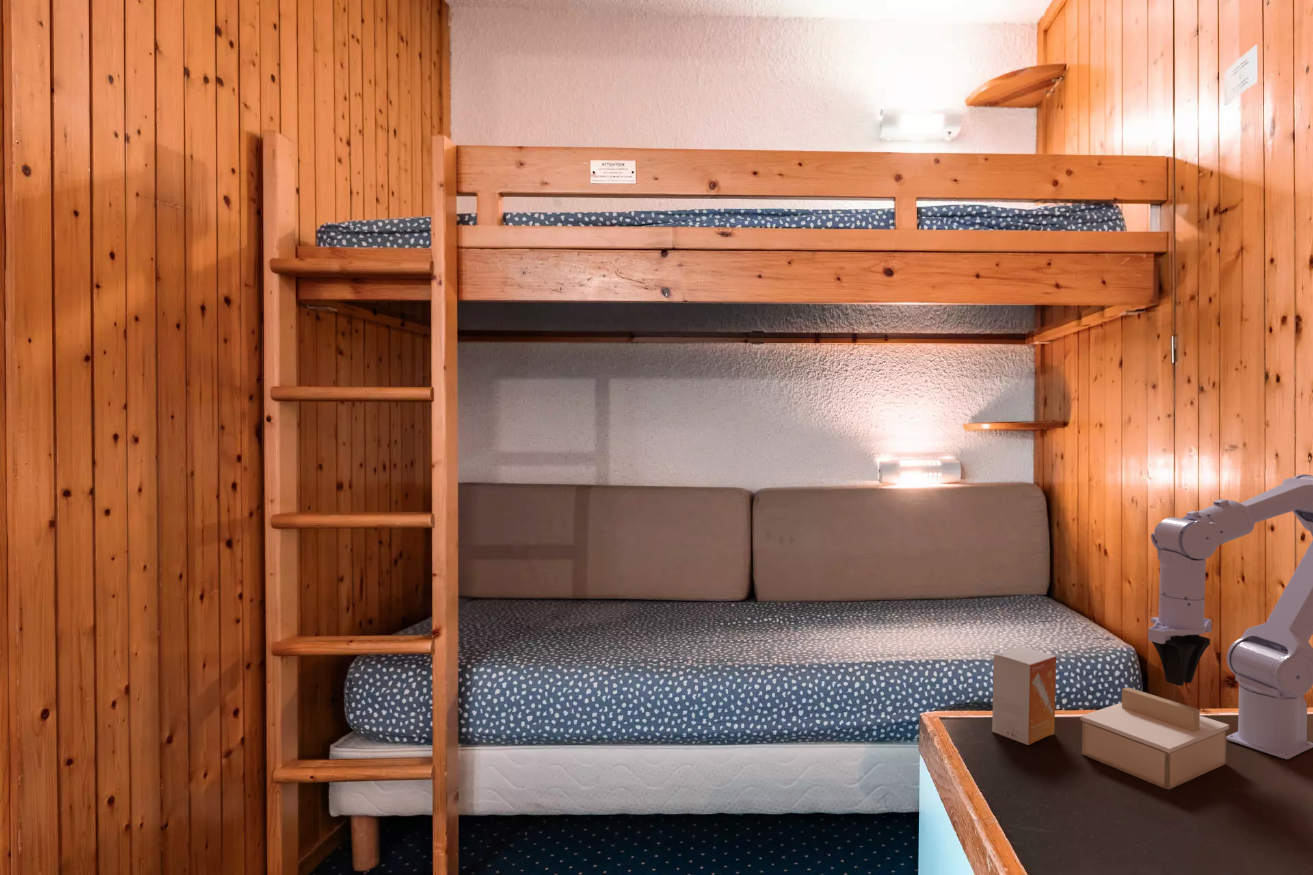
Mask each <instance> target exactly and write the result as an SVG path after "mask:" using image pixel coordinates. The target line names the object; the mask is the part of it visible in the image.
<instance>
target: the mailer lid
mask: <svg viewBox="0 0 1313 875" xmlns="http://www.w3.org/2000/svg"><path fill="white" fill-rule="evenodd" d="M1200 711H1201V709H1198V708H1196V707H1192V706H1189V705H1187V704H1184V703H1183V704H1182V703H1179V702H1176V701H1173V700H1170V699H1167V698H1164V697H1161V696H1157V695H1153V694H1150V693H1148V692H1146V691H1141V690H1138V689H1135V688H1131V687H1130V686H1129V687H1124V688H1122V689H1121V702H1119V703H1116V704H1113V705H1110V706H1107V707H1106V706H1105V707H1104V708H1101V709H1098V710H1095V711H1092V712H1089V713H1085V714H1082V715H1080V716H1079V717H1080V721H1082V722H1084V721H1085V722H1087V723H1090V724H1093V725H1095V726H1098V727H1101V728H1104V729H1106V730H1109V731H1112V732H1114V733H1117V734H1120V735H1122V736H1125V737H1128V738H1130V739H1133V740H1136V741H1138V742H1141V743H1144V744H1147V745H1149V746H1152V747H1155V748H1157V749H1160V750H1163V751H1165V752H1168V753H1171V752H1174V751H1176V750H1179V749H1181V748H1183V747H1186V746H1188V745H1191V744H1193V743H1196V742H1198V741H1201V740H1203V739H1205V738H1208V737H1210V736H1213V735H1215V734H1218V733H1220V732H1223V731H1225V730H1226V731H1227V730H1229V729H1230V724H1227V723H1225V722H1221V721H1218V720H1215V719H1212V718H1209V717H1205V716H1202V715H1200V714H1201V712H1200Z"/></svg>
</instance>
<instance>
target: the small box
mask: <svg viewBox="0 0 1313 875" xmlns="http://www.w3.org/2000/svg"><path fill="white" fill-rule="evenodd" d="M992 668H993V670H992V671H993V672H992V673H993V675H992V679H993V680H992V682H993V683H992V718H991V719H992V720H991V721H992V723H991V724H992V726H991V731H992V732H993V733H995V734H997V735H1000V736H1002V737H1005V738H1008V739H1011V740H1014V741H1016V742H1019V743H1022V744H1023V745H1027V746H1030V745H1032V744H1034V743H1035V742H1038V741H1040V740H1042V739H1044V738H1046V737H1049V736H1052V735H1054V734H1055V728H1056V727H1055V726H1056V725H1055V722H1056V721H1055V720H1056V719H1055V717H1056V688H1057V686H1056V682H1057V681H1056V680H1057V676H1056V675H1057V655H1053V654H1051V653H1046V652H1043V651H1040V650H1037V649H1034V648H1033V649H1032V648H1029V647H1025V646H1023V645H1020V646H1016V647H1013V648H1008V649H1006V650H1005V649H1004V650H1003V651H1001V652H1000V651H999V652H998V653H994V654H993V666H992Z"/></svg>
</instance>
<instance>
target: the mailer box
mask: <svg viewBox="0 0 1313 875" xmlns="http://www.w3.org/2000/svg"><path fill="white" fill-rule="evenodd" d="M1081 729H1082V730H1081V731H1082V732H1081V734H1082V736H1081V755H1082V756H1085V757H1088V758H1090V759H1092V760H1095V761H1096V762H1097V761H1098V762H1100V763H1102V764H1104V765H1107V766H1109V767H1112V768H1114V769H1116V770H1119V771H1121V772H1124V773H1125V774H1128V775H1131V776H1133V777H1137V779H1138V778H1139V779H1140V780H1143V781H1146V782H1148V783H1150V784H1153V785H1155V786H1158V787H1160V788H1163V789H1166V790H1168V791H1169V790H1172V789H1173V788H1175V787H1177V786H1180V785H1182V784H1184V783H1186V782H1188V781H1191V780H1194V779H1195V778H1198V777H1200V776H1201V775H1204V774H1206V773H1208V772H1210V771H1213V770H1215V769H1217V768H1220V767H1222V766H1224V765H1226V764H1227V741H1228V740H1227V736H1228V734H1227V732H1228V731H1227V730H1225V731H1223V732H1220V733H1218V734H1215V735H1213V736H1210V737H1208V738H1205V739H1203V740H1201V741H1198V742H1196V743H1193V744H1191V745H1188V746H1186V747H1183V748H1181V749H1179V750H1176V751H1174V752H1171V753H1168V752H1165V751H1163V750H1160V749H1157V748H1155V747H1152V746H1149V745H1147V744H1144V743H1141V742H1138V741H1136V740H1133V739H1130V738H1128V737H1125V736H1122V735H1120V734H1117V733H1114V732H1112V731H1109V730H1106V729H1104V728H1101V727H1098V726H1095V725H1093V724H1090V723H1087V722H1085V721H1082V726H1081Z"/></svg>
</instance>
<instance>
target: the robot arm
mask: <svg viewBox="0 0 1313 875" xmlns="http://www.w3.org/2000/svg"><path fill="white" fill-rule="evenodd" d="M1291 512H1293V514H1294V515H1295V517H1296V518H1297V519H1298V521H1299V522H1300V523H1301V525H1302V526H1303V527H1304V529H1305V530H1307V531H1308V532H1310V534H1311V536H1312V537H1313V475H1312V474H1306V473H1305V474H1304V473H1302V474H1298V475H1294V477H1289V478H1284V479H1283V481H1282V483H1281V484H1279V485H1277V486H1275V487H1273V488H1270V489H1269V490H1266V491H1264V492H1261V493H1260V494H1258V495H1255V496H1253V497H1251V498H1249V499H1247V500H1245V501H1242V502H1238V501H1236V500H1232V499H1223V498H1219V499H1216V500H1214V501H1213V505H1211V506H1208V507H1206V508H1203V509H1200V510H1197V511H1196V510H1191V511H1188V512H1186V515H1185V516H1182V518H1181V517H1180V518H1179V517H1174V516H1173V517H1171V516H1170V517H1167V518H1164V519H1163V520H1161V521H1160V522H1159V523H1158V524H1156V526H1155V528H1154V532H1153V533H1151V534H1150V539H1151V542H1152V545H1153V547H1155V549H1156V552H1157V560H1159V591H1158V592H1159V594H1158V595H1159V596H1158V597H1159V598H1158V616H1154V617H1151V618H1150V623H1152V624H1153V625H1152V626H1151V627H1149V628H1148V629H1147V641H1149V642H1151V644H1152V646H1154V648H1155V649H1156V651H1157V654H1158V657H1159V659H1160V662H1161V665H1162V669H1163V674H1164V678H1165V681H1166V682H1167V683H1170V684H1173V685H1175V686H1179V687H1182V686H1184V684H1185V683H1186V684H1191V683H1193V680H1194V677H1195V675H1196V674H1195V673H1196V671H1197V668H1198V665H1199V662H1200V659H1201V658H1202V656H1203V654H1204V653H1205V651H1206V649H1208V647H1209V646H1210V644H1211V639H1210V638H1209V637H1206V636H1202V635H1204V634H1205V633H1211V632H1212V626H1213V625H1212V621H1213V620H1212V619H1209V618H1205V606H1206V604H1205V603H1206V600H1205V599H1206V572H1207V571H1206V570H1207V569H1206V568H1207V559H1209V558H1210V557H1212V556H1213V554H1215V552H1216V551H1217V548H1218V547H1220V546H1221V545H1224V544H1226V543H1228V542H1231V541H1234V540H1236V539H1239V538H1241V537H1245V536H1247V535H1250V534H1251V533H1252V532H1253V530H1254V528H1255V524H1257V523H1258V522H1262V521H1265V520H1268V519H1272V518H1275V517H1278V516H1282V515H1284V514H1287V513H1291ZM1312 636H1313V540H1311V542H1310V544H1309V545H1308V548H1307V549H1306V551H1305V553H1304V555H1303V557H1302V558H1301V560H1300V562H1299V563H1298V566H1297V567H1296V569H1295V571H1294V572H1293V574H1292V576H1291V577H1290V580H1289V581H1288V583H1287V584H1286V586H1285V588H1284V590H1283V592H1282V593H1281V595H1280V596H1279V598H1278V600H1277V602H1276V604H1275V606H1274V607H1273V610H1271V613H1270V615H1269V616H1268V618H1267V620H1266V622H1264V623H1261V624H1258V625H1254V626H1251V627H1249V628H1247V629H1245V631H1244V632H1243V634H1242V635H1241V636H1240V637H1239V638H1238V639H1237V640H1235V641H1234V642H1233V643H1232V644H1230V646H1229V648H1228V650H1227V651H1226V658H1225V659H1226V664H1227V666H1228V669H1229V670H1230V672H1232V673H1233V674H1234V675H1235V681H1236V682H1238V683H1239V684H1238V714H1237V715H1238V720H1237V728H1238V730H1237V731H1236V732H1233V733H1230V734H1229V735H1228V734H1227V741H1230V742H1233V743H1236V744H1239V745H1242V746H1244V747H1248V748H1251V749H1254V750H1257V751H1259V752H1262V753H1265V754H1266V753H1267V754H1268V755H1272V756H1275V757H1278V758H1280V759H1282V760H1283V759H1285V760H1289V759H1292V758H1293V757H1296V756H1297V755H1300V754H1302V753H1304V752H1306V751H1308V750H1310V749H1312V748H1313V743H1312V742H1311V741H1307V738H1308V737H1307V732H1308V731H1307V730H1308V727H1307V726H1308V704H1307V702H1306V699H1305V697H1304V696H1305V694H1307V693H1308V692H1309V691H1310V690H1311V689H1312V687H1313V646H1312V645H1311V643H1310V642H1309V641H1310V639H1311V638H1312Z"/></svg>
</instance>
